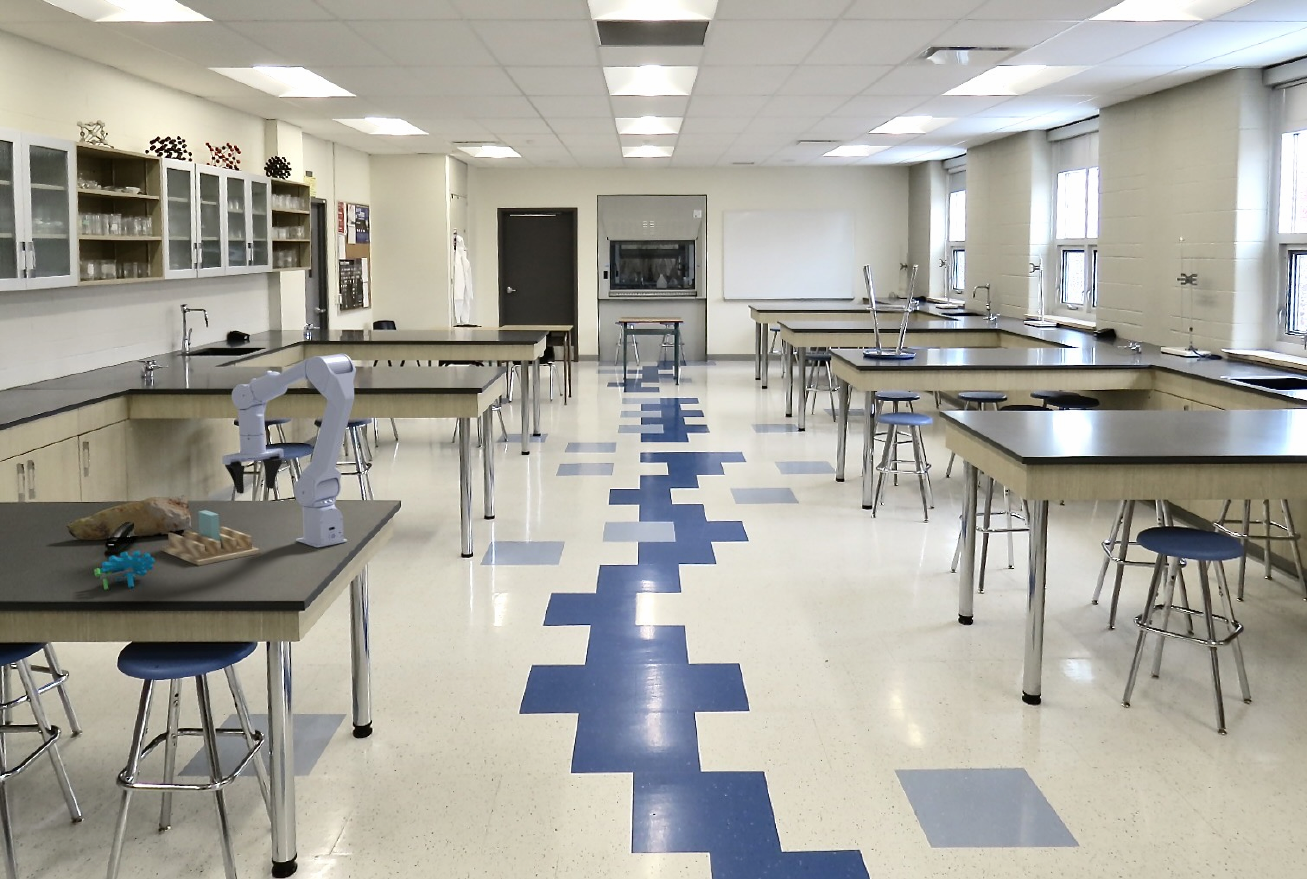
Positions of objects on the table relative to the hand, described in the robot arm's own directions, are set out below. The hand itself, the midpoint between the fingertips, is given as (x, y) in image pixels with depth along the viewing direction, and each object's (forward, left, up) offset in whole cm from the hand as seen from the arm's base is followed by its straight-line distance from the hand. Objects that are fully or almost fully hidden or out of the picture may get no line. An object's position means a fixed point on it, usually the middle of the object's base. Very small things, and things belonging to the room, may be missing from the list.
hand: (255, 490), depth 267 cm
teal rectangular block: (-9, +16, -9) cm, 21 cm away
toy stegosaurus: (-21, +39, -11) cm, 46 cm away
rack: (-9, +16, -10) cm, 21 cm away
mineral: (+19, +22, -11) cm, 31 cm away
